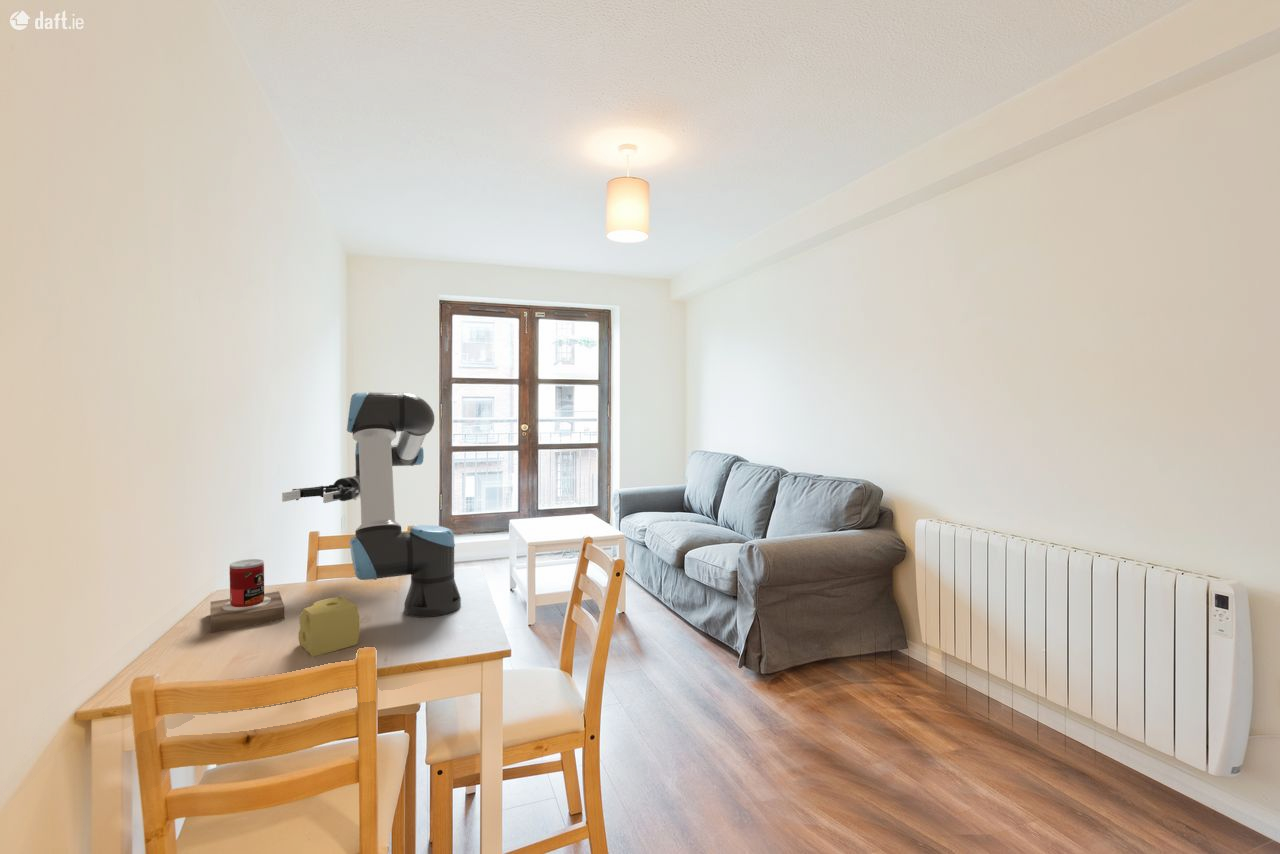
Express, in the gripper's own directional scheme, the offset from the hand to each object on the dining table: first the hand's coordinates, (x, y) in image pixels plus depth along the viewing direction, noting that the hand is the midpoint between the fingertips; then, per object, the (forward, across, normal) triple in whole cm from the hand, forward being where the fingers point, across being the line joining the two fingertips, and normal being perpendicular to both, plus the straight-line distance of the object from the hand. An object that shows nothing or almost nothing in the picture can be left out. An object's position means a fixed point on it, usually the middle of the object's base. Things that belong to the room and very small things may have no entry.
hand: (303, 497), depth 173 cm
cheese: (+31, -31, -30) cm, 53 cm away
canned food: (+17, +4, -26) cm, 32 cm away
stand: (+17, +4, -30) cm, 35 cm away
